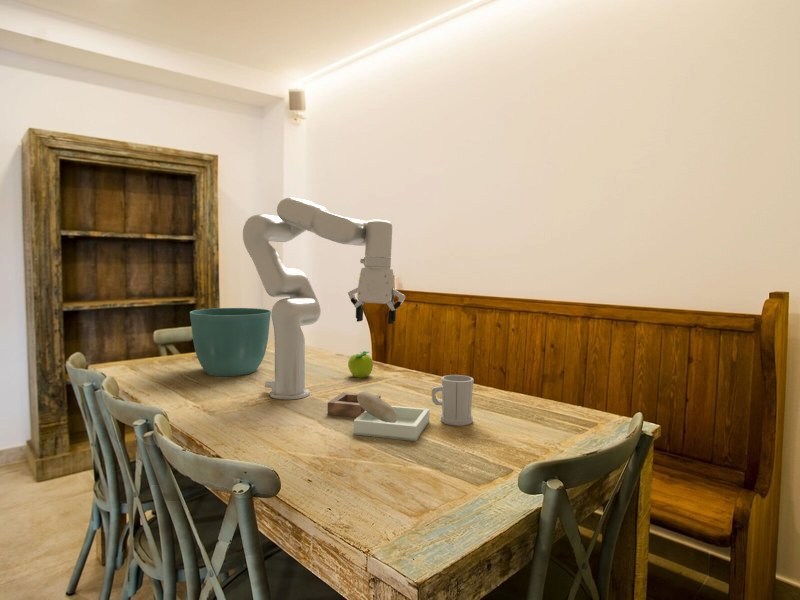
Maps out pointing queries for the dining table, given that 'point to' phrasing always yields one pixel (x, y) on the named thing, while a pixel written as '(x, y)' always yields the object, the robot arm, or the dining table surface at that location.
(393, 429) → the tray
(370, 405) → the stone
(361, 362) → the fruit
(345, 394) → the pocket frame
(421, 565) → the dining table surface
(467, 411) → the cup
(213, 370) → the flower pot
